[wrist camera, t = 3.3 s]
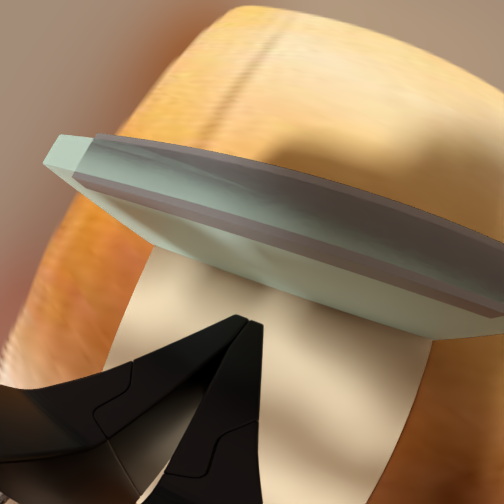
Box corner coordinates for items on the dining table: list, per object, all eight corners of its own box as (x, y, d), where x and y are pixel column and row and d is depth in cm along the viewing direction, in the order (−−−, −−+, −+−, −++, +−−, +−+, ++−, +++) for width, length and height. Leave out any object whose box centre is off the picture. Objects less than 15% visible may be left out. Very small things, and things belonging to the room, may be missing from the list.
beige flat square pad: (318, 558, 11) (318, 570, 9) (88, 455, 15) (74, 460, 13) (427, 322, 15) (438, 318, 14) (172, 237, 19) (163, 227, 18)
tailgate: (433, 344, 13) (556, 332, 4) (149, 246, 17) (39, 168, 8) (441, 313, 13) (562, 272, 5) (161, 221, 17) (62, 129, 9)
